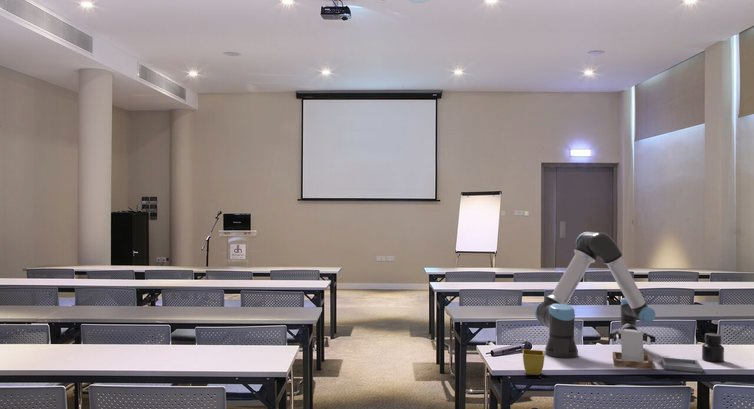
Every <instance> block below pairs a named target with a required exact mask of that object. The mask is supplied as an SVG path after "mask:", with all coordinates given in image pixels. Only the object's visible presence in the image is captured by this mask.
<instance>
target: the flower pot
mask: <svg viewBox="0 0 754 409" xmlns="http://www.w3.org/2000/svg"><path fill="white" fill-rule="evenodd" d="M521 352H522V360H523V368H524V370H525V373H526V374H527V375H532V376H533V375H536V376H539V375H540V376H541V373H542V372H543V370H544V369H543V368H544V363H545V355H546V354H545V350H538V349H522V351H521Z"/></svg>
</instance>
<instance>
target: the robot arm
mask: <svg viewBox="0 0 754 409" xmlns="http://www.w3.org/2000/svg"><path fill="white" fill-rule="evenodd" d="M573 252H574V256H573V257H572V259H571V260H570V263H569V264H568V266H567V268H566V269H565V271H564V272H563V274H562V276H561V277H560V279H559V281H558V283H557V285H556V286H555V288H554V289H553V292H552V293H551V294H550V295H547V296H546V297H545V298H544V300H543V301H541V302H539V303H538V304H537V305H536V307H535V310H534V318H535V319H536V321H537V322H538V323H539V324H540V325H542V326H543V327H547V328H548V340H547V342H546V345H545V350H544V355H547V356H549V357H554V358H560V359H561V358H562V359H571V358H577V357H578V356H579V351H578V347H577V344H576V341H575V325H576V324H575V319H576V318H575V317H576V314H575V309H574V307H572V306H571V305H569V304H568V302H569V301H570V299H571V297H572V296H573V294H574V292H575V290H576V289H577V287H578V285H579V284H580V282H581V280H582V279H583V277H584V275H585V273H586V271H587V270H588V268H589V267H590V265H591V264H594V263H595V262H596V261H597V260H598V258H600V260H601V261H602V263H603V264H604V265H607V267H608V269H609V270H610V273H611V275H612V277H613V278H614V280H615V282H616V284H617V285H618V287H619V289H620V292H621V293H622V294H623V296H624V297H622V298H621V299H620V325H619V330H620V331H619V330H616V331H613V332H611V333H609V335H608V337H609V338H608V339H610V340H613V342H616V344H619V343H620V342H619V341H620V340H621V331H622V330H624V329H630V330H638V328H637V321H639V322H643V323H646V324H647V323H652V322H654V320H655V319H656V312H655V310H654V308H652V307H650V306H649V305H648V303H647V302H646V300H645V298H644V297H643V296H644V295H642V293H641V291H640V289H639V288H638V286H637V285H638V284H636V282H635V279H634V278H633V276H632V274H631V273H630V270H629V269H628V267H627V266H626V264H625V262H624V260H623V254H622V252H621V249H620V248H619V246H618V245H617V243H616V242H615V241H614V239H613V238H612V237H611V236H610V235H609V234H607V233H606V232H600V231H598V232H596V231H591V230H590V231H585V232H582V233H580V234H579V235H578V236H577V237H576V240H575V248H574V249H573ZM643 342H647V345H648V346H651V343H656V336H654V335H652V334H649V333H646V332H643Z"/></svg>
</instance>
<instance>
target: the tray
mask: <svg viewBox="0 0 754 409" xmlns="http://www.w3.org/2000/svg"><path fill="white" fill-rule="evenodd" d="M659 359H660V360H659V361H661V362H660V363H662V364H661V366H662V365H663V366H662V368H663V367H664V368H663V370H666V371H667V370H668V371H676V372H677V371H678V372H689V373H699V374H700V373H701V374H704V367H702V365H701V364H700V362H699V361H698V359H690V358H689V359H687V358H678V357H677V358H673V357H664V356H663V357H662V356H661V357H660V358H659Z"/></svg>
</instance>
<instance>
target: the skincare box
mask: <svg viewBox="0 0 754 409" xmlns="http://www.w3.org/2000/svg"><path fill="white" fill-rule="evenodd" d="M620 333H621V339H620V344H621V353H622V358H621V360H625V361H637V362H645V360H644V341H643V333H644V331H643V330H638V329H637V330H630V329H624V330H622V331H621V330H620Z"/></svg>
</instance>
